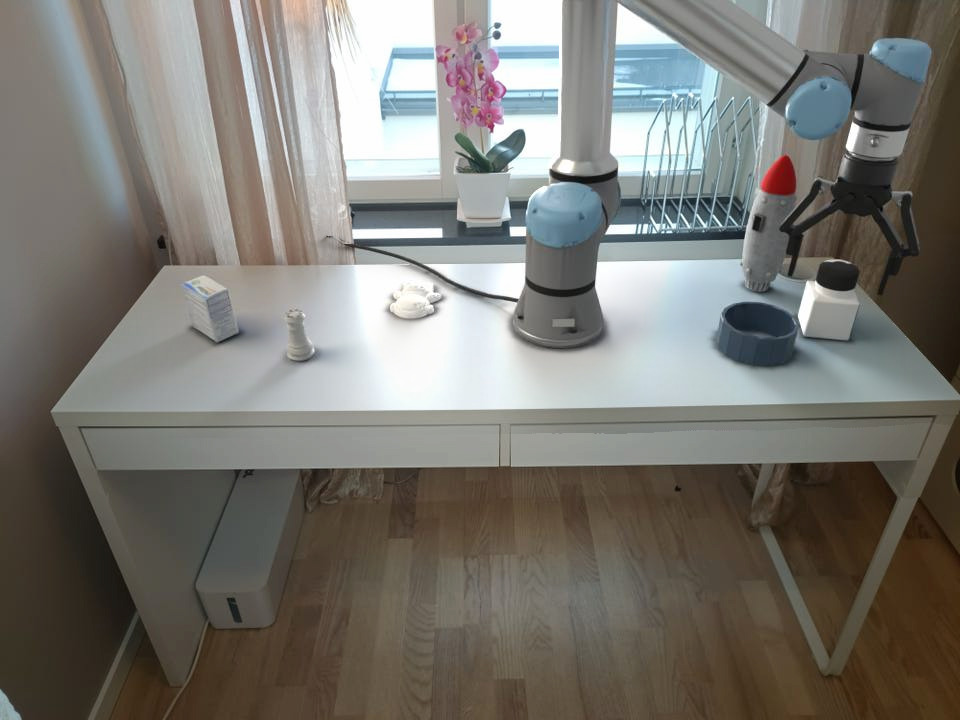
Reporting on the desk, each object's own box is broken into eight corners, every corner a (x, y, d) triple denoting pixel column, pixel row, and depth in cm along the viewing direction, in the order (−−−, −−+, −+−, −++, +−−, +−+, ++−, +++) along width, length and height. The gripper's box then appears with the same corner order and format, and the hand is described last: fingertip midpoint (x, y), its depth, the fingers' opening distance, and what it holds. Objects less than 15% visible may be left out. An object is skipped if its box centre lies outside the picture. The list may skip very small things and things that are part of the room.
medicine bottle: (849, 341, 122) (869, 276, 115) (803, 337, 123) (821, 272, 117) (840, 319, 128) (859, 256, 121) (796, 316, 129) (813, 253, 123)
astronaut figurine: (446, 290, 139) (446, 276, 137) (428, 322, 129) (428, 307, 128) (402, 285, 141) (401, 271, 139) (381, 317, 131) (379, 302, 129)
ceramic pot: (708, 354, 119) (713, 327, 117) (725, 321, 128) (731, 295, 125) (784, 373, 115) (791, 346, 112) (797, 338, 123) (804, 311, 120)
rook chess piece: (291, 365, 118) (283, 322, 113) (283, 351, 121) (275, 309, 117) (318, 357, 120) (311, 314, 115) (310, 344, 123) (303, 302, 118)
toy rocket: (724, 285, 139) (750, 154, 125) (752, 273, 143) (780, 144, 129) (759, 301, 134) (790, 166, 120) (786, 288, 138) (819, 156, 124)
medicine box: (239, 333, 126) (229, 288, 121) (216, 344, 123) (205, 298, 119) (215, 317, 131) (204, 273, 126) (192, 327, 128) (180, 282, 123)
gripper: (779, 148, 111) (751, 274, 123) (969, 175, 101) (918, 310, 113) (788, 134, 117) (760, 257, 129) (969, 159, 107) (921, 289, 118)
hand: (834, 282), depth 121 cm, fingers open, 13 cm apart
